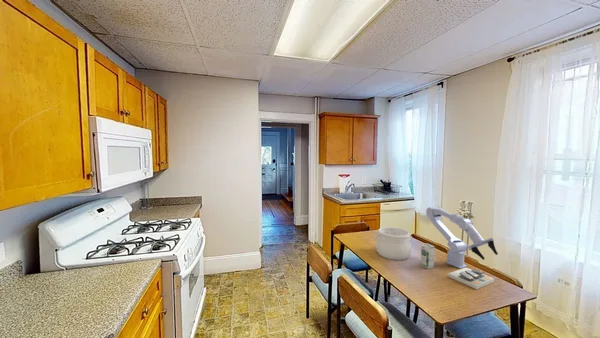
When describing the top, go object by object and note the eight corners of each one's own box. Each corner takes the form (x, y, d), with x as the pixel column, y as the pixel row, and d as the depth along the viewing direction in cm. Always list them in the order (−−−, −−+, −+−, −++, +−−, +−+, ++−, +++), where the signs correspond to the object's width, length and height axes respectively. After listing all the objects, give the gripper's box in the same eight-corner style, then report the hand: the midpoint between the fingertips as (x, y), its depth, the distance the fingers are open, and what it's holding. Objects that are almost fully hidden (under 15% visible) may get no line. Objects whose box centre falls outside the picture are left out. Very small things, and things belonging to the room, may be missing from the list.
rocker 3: (470, 272, 153) (470, 270, 153) (473, 270, 155) (473, 269, 155) (480, 274, 148) (480, 272, 148) (484, 272, 149) (484, 271, 149)
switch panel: (448, 276, 152) (448, 273, 152) (465, 270, 160) (465, 267, 160) (476, 289, 138) (476, 285, 138) (494, 281, 146) (494, 278, 146)
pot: (406, 249, 196) (406, 227, 195) (417, 262, 172) (418, 237, 171) (372, 247, 199) (372, 226, 198) (378, 260, 174) (379, 236, 173)
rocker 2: (464, 271, 150) (465, 270, 150) (468, 270, 152) (468, 269, 152) (475, 278, 145) (475, 277, 145) (478, 276, 147) (479, 275, 147)
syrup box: (420, 265, 168) (420, 243, 167) (426, 263, 170) (427, 242, 169) (427, 268, 162) (428, 246, 162) (433, 267, 165) (434, 245, 164)
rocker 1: (459, 273, 148) (459, 272, 148) (463, 272, 150) (463, 271, 149) (469, 280, 143) (469, 279, 143) (473, 278, 145) (473, 277, 144)
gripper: (463, 238, 154) (478, 259, 145) (487, 229, 152) (504, 249, 143) (462, 242, 160) (477, 262, 150) (485, 233, 157) (501, 253, 148)
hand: (490, 256), depth 147 cm, fingers open, 7 cm apart
